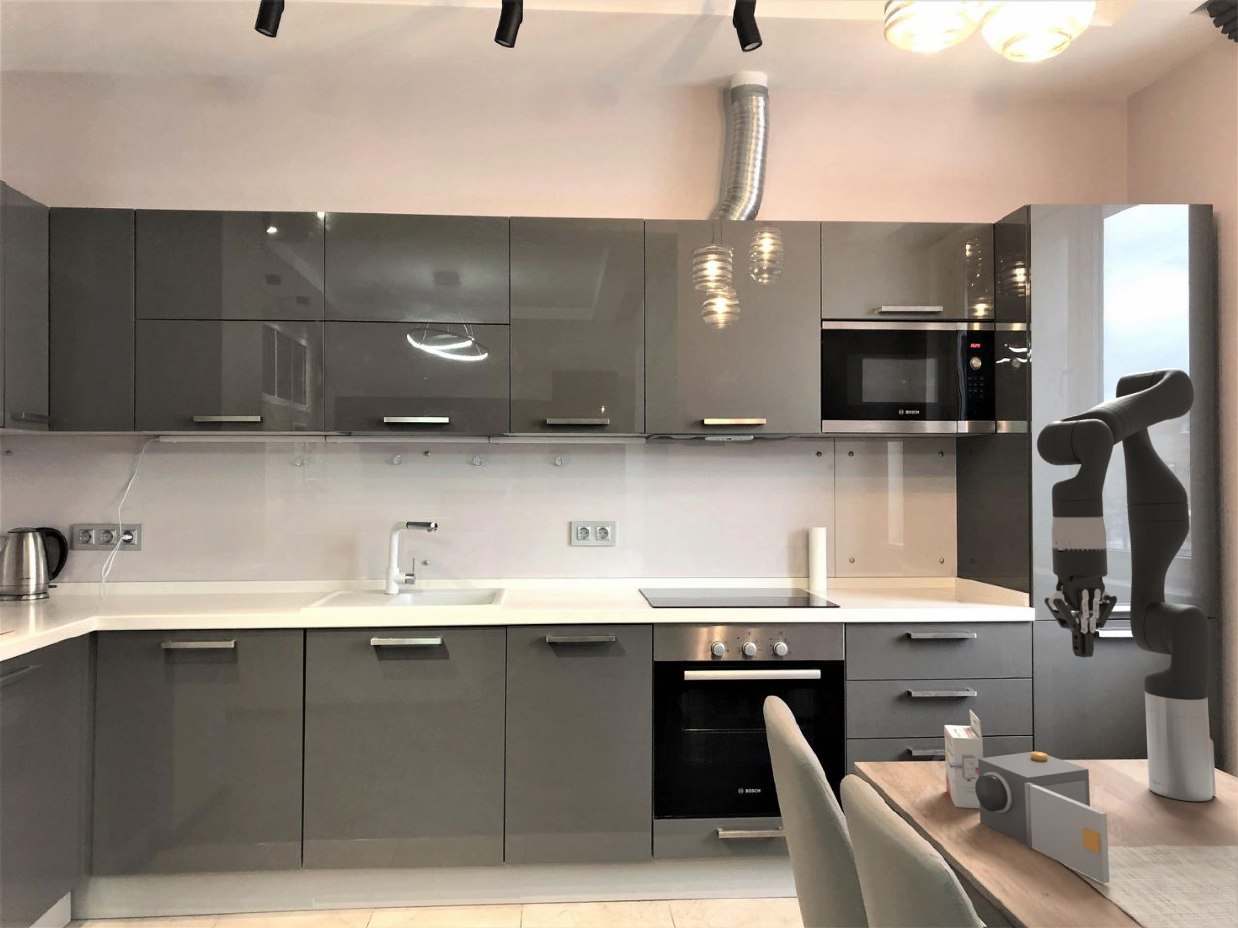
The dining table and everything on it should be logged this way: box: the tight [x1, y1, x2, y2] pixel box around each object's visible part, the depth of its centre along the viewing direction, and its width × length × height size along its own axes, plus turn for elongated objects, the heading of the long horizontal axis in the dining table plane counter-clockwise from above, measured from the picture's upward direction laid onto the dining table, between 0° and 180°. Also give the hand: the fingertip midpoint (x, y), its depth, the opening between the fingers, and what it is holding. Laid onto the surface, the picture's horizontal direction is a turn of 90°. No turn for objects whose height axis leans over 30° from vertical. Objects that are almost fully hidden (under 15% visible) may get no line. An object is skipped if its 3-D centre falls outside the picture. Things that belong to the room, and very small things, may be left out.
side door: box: [1025, 782, 1110, 884], centre depth 114 cm, size 13×2×9 cm, turn 18°
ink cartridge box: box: [943, 709, 984, 809], centre depth 140 cm, size 9×5×15 cm, turn 168°
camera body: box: [975, 750, 1091, 846], centre depth 127 cm, size 14×10×11 cm
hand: (1083, 656), depth 127 cm, fingers closed
